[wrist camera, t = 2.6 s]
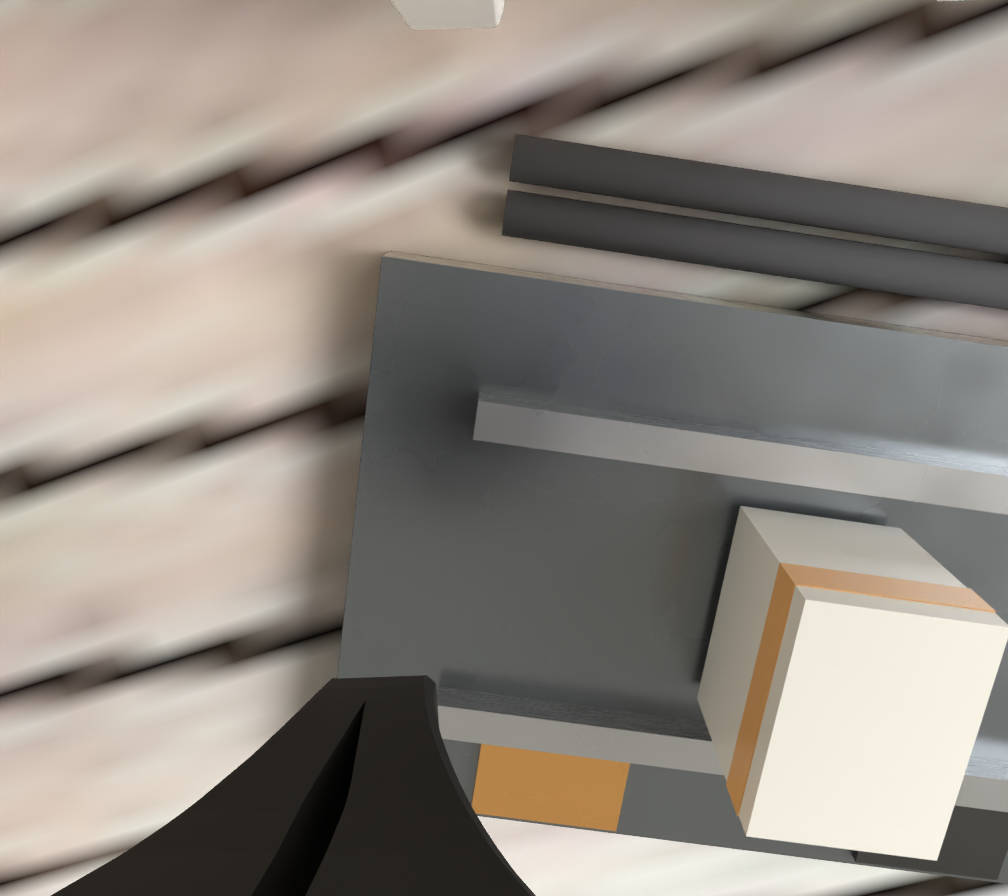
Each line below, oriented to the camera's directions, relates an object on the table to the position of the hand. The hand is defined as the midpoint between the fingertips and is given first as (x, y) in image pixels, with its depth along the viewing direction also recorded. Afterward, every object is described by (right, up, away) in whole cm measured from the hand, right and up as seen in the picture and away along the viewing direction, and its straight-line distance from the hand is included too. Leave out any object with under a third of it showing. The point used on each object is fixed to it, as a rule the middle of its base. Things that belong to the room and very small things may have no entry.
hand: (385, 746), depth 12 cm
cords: (+9, +8, +5) cm, 13 cm away
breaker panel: (+7, +1, +7) cm, 10 cm away
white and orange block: (+7, +1, +6) cm, 9 cm away
